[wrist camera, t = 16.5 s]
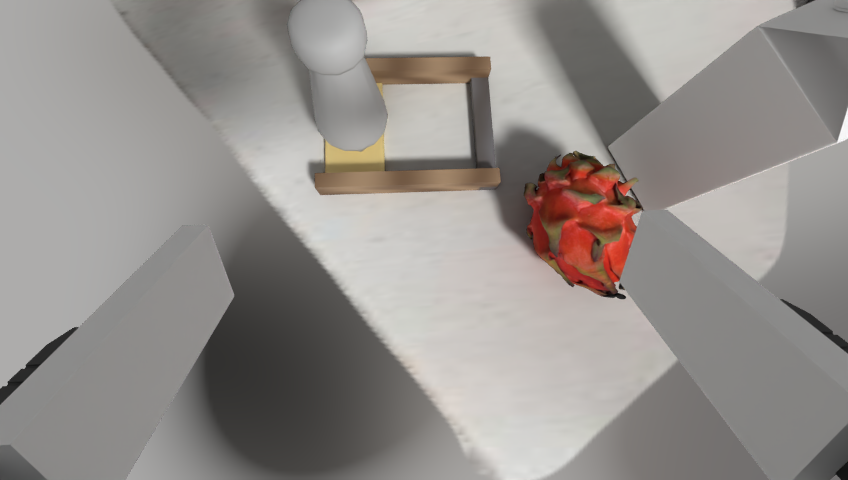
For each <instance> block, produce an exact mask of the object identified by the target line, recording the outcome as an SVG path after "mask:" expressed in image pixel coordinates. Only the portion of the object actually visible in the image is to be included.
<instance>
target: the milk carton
mask: <svg viewBox="0 0 848 480" xmlns="http://www.w3.org/2000/svg"><path fill="white" fill-rule="evenodd" d="M846 139H848V0H815V1H812V2H810V3H808V4H805V5H803V6H801V7H799V8H796V9H794V10H792V11H789V12H787V13H785V14H782V15H780V16H778V17H776V18H773V19H771V20H769V21H767V22H765V23H763V24H761V25H759V26H757V27H756V28H754V29H753V30H752V31H750V32H749V33H748V34H746V35H745V36H744V37H743V38H741V39H740V40H739V41H738V42H736V43H735V44H734V45H733V46H731V47H730V48H729V49H728V50H727V51H725V52H724V53H723V54H722V55H720V56H719V57H718V58H717V59H715V60H714V61H713V62H712V63H710V64H709V65H708V66H707V67H706V68H704V69H703V70H702V71H701V72H699V73H698V74H697V75H696V76H694V77H693V78H692V79H691V80H689V81H688V82H687V83H686V84H684V85H683V86H682V87H681V88H680V89H678V90H677V91H676V92H675V93H673V94H672V95H671V96H670V97H668V98H667V99H666V100H665V101H663V102H662V103H661V104H660V105H659V106H657V107H656V108H655V109H654V110H652V111H651V112H650V113H649V114H647V115H646V116H645V117H644V118H642V119H641V120H640V121H639V122H637V123H636V124H635V125H634V126H633V127H631V128H630V129H629V130H628V131H626V132H625V133H624V134H623V135H621V136H620V137H619V138H618V139H616V140H615V141H614V142H613V143H612V144H610V145H609V146H608V148H609V150H610V152H611V154H612V155H613V157H614V159H615V161H616V162H617V164H618V166H619V168H620V169H621V171H622V173H623V174H624V176H625V178H626V180H627V181H629V180H630V179H632V178H634V177H635V178H637V179H638V180H639V181H638V182H636V183H635V184H634V185H633V186H632V187H631V188H632V190H633V192H634V193H635V195H636V197H637V198H638V200H639V202H640V204H641V205H642V207H643V209H644V210H645V211H647V210H665V209H668V208H670V207H673V206H675V205H678V204H681V203H683V202H686V201H688V200H691V199H694V198H696V197H699V196H702V195H704V194H707V193H709V192H712V191H715V190H717V189H720V188H722V187H725V186H728V185H730V184H733V183H735V182H738V181H741V180H743V179H746V178H748V177H751V176H754V175H756V174H759V173H761V172H764V171H767V170H769V169H772V168H774V167H777V166H780V165H782V164H785V163H787V162H790V161H793V160H795V159H798V158H800V157H803V156H806V155H808V154H811V153H813V152H816V151H818V150H821V149H823V148H826V147H829V146H831V145H834V144H837V143H839V142H842V141H844V140H846Z"/></svg>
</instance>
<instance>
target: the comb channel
mask: <svg viewBox="0 0 848 480" xmlns="http://www.w3.org/2000/svg"><path fill="white" fill-rule="evenodd" d="M365 59H366V61H367V64H368V66H369V68H370V70H371V73H372V75H373V77H374V79H375V82H376V83H382V84H437V83H470V89H471V102H472V116H473V129H474V143H475V156H476V169H444V170H409V171H374V172H339V173H315V188H316V190H317V191H318V192H319V194H320V195H335V194H366V193H398V192H430V191H462V190H494V189H496V188H497V186H498V185H499V184H500V182H501V179H500V168H496V165H495V153H494V141H493V130H492V118H491V106H490V94H489V82H488V76H489V73H490V71H491V63H490V57H425V58H365Z"/></svg>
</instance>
